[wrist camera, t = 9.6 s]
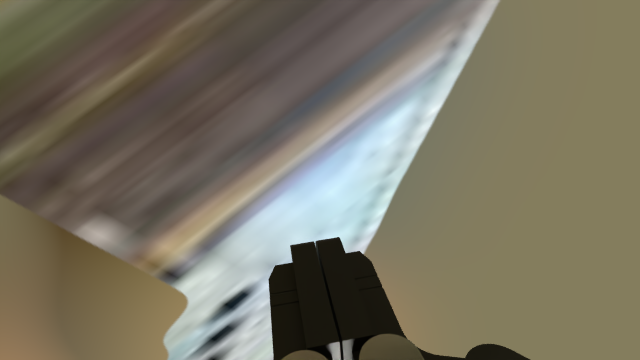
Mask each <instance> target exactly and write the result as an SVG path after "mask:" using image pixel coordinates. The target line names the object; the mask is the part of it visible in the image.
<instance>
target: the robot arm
mask: <svg viewBox="0 0 640 360" xmlns="http://www.w3.org/2000/svg"><path fill="white" fill-rule="evenodd" d="M290 247H291V254H292V261H293V263H287V264H282V265H276V266H275V267H274V269H273V271H272V273H271V275H270V278H269V291H270V306H271V323H272V338H273V354H274V360H530V359H528V358H526V357H524V356H522V355H520V354H518V353H516V352H514V351H512V350H511V349H508V348H506V347H503V346H500V345H495V344H482V345H479V346H476V347H474V348H472V349H471V350H470V351H469V352H468V354H467V355H466V357H465V358H458V357H449V356H440V355H434V354H431V353H427V352H425V351H423V350H421V349H419V348H418V347H416V346H415V345H414V344H413V343H412V342H411V341H409V340H408V339H407V338H406V336H405V335H404V333H403V331H402V329H401V327H400V325H399V323H398V320H397V318H396V316H395V314H394V311H393V309H392V307H391V305H390V302H389V300H388V298H387V296H386V294H385V291H384V289H383V288H382V284H381V282H380V280H379V278H378V277H377V273H376V271H375V269H374V266H373V264H372V262H371V261H370V260H369V259H368V258H367V257H366V256H364V255H363V254H362V253H361V252H360V251H357V252H351V253H345V251H344V248H343V245H342V242H341V240H340V238H339V237H337V238H331V239H325V240H319V241H316V247H315V243H314V242H308V243H301V244H295V245H290Z"/></svg>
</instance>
